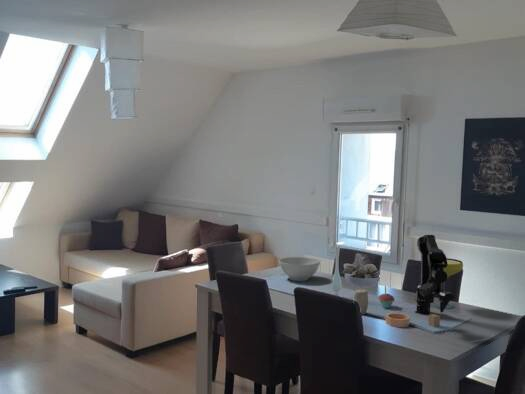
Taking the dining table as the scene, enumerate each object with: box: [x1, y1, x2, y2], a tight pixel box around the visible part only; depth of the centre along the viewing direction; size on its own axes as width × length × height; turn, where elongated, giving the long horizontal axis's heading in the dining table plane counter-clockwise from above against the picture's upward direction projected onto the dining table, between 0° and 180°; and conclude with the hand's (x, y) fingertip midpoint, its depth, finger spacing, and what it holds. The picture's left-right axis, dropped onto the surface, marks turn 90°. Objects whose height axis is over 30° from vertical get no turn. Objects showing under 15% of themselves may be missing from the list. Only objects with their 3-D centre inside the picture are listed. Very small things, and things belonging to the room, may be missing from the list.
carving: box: [353, 288, 369, 315], centre depth 286 cm, size 6×8×12 cm
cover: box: [413, 313, 455, 334], centre depth 262 cm, size 13×13×6 cm
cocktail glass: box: [431, 257, 464, 310], centre depth 300 cm, size 18×18×25 cm
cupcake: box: [378, 285, 395, 309], centre depth 298 cm, size 9×8×12 cm
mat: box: [411, 323, 458, 335], centre depth 263 cm, size 15×15×1 cm
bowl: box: [385, 312, 411, 328], centre depth 268 cm, size 11×11×4 cm
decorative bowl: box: [278, 256, 321, 282], centre depth 361 cm, size 27×27×12 cm
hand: (434, 309), depth 262 cm, fingers open, 9 cm apart
